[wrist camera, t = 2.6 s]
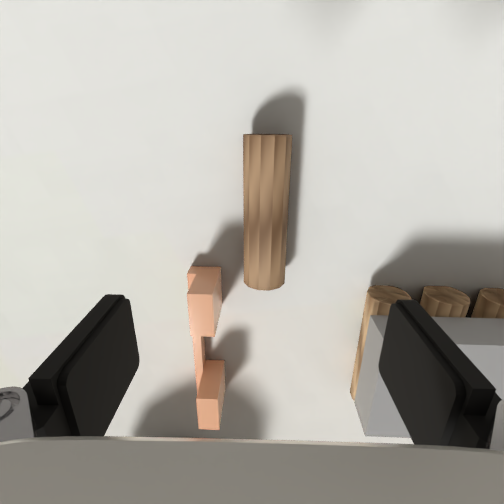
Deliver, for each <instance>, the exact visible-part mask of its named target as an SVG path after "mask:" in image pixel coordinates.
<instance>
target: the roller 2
mask: <svg viewBox="0 0 504 504" xmlns="http://www.w3.org/2000/svg"><path fill="white" fill-rule="evenodd" d="M398 299H399V300H411V297H410V296H409V294H408V293H407V292H405V291H403V290H401V289H399V288H397V287H393V286H383V285H375V286H372V287H369V289H368V291H367V296H366V302H365V307H364V313H363V319H362V325H361V330H360V336H359V342H358V348H357V354H356V359H355V365H354V371H353V377H352V383H351V388H350V393H351V396H352V399H353V400H354V401H355V396H356V390H357V385H358V379H359V374H360V368H361V363H362V357H363V352H364V346H365V341H366V335H367V330H368V325H369V319H370V315H387V316H388V315H389V310H390V306H391V304H393V303H395V302H396V301H397V300H398Z"/></svg>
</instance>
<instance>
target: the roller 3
mask: <svg viewBox="0 0 504 504" xmlns="http://www.w3.org/2000/svg"><path fill="white" fill-rule="evenodd" d="M420 305H421V306H422V307H423V308H424V309H425V311H426V312H427V313H428V314H429V315H430V316H431V317H464V318H465V317H466V314H467V311H468V308H469V305H470V298H469V297H468V296H467V295H466V294H465V293H463V292H461V291H459V290H457V289H454V288H452V287H447V286H426V287H424V290H423V294H422V298H421V302H420Z"/></svg>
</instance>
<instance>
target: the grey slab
mask: <svg viewBox="0 0 504 504" xmlns="http://www.w3.org/2000/svg"><path fill="white" fill-rule="evenodd" d="M432 318H433V319H434V321H435V322H436V323H437V324H438V325H439V326H440V327H441V328H442V329H443V330H444V332H445V333H446V334H447V335H448V336H449V337H450V338H451V339H452V340H453V342H454V343H455V344H456V345H457V346H458V347H459V348H460V349H461V350H462V352H463V353H464V354H465V355H466V356H467V357H468V358H469V359H470V360H471V361H472V363H473V364H474V365H475V366H476V367H477V368H478V369H479V370H480V371H481V373H482V374H483V375H484V376H485V377H486V378H487V379H488V380H489V381H490V383H491V384H492V385H493V386H494V387H495V388H496V391H495V392H496V394H497V395H498V396H499V397H500V398H501V399H502V400H503V399H504V319H503V318H464V317H432ZM387 320H388V316H387V315H370V319H369V325H368V330H367V335H366V341H365V346H364V352H363V357H362V363H361V368H360V374H359V379H358V385H357V390H356V396H355V401H354V403H355V406H356V409H357V412H358V415H359V418H360V421H361V424H362V428H363V431H364V434H365V436H376V437H402V438H411V437H410V435H409V432H408V430H407V428H406V426H405V424H404V422H403V420H402V418H401V416H400V414H399V412H398V410H397V408H396V406H395V404H394V402H393V400H392V398H391V396H390V393H389V391H388V389H387V387H386V385H385V383H384V381H383V379H382V377H381V375H380V373H379V367H378V364H379V359H380V354H381V349H382V344H383V339H384V334H385V329H386V325H387Z"/></svg>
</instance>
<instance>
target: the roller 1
mask: <svg viewBox="0 0 504 504" xmlns="http://www.w3.org/2000/svg"><path fill="white" fill-rule="evenodd" d="M291 148H292V135H289V134H244V135H243V178H244V283H245V284H246V285H247V286H248V287H250V288H253V289H257V290H273V289H277V288H280V287H281V286H282V285H283V284H284V280H285V261H286V242H287V224H288V205H289V186H290V167H291Z"/></svg>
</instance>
